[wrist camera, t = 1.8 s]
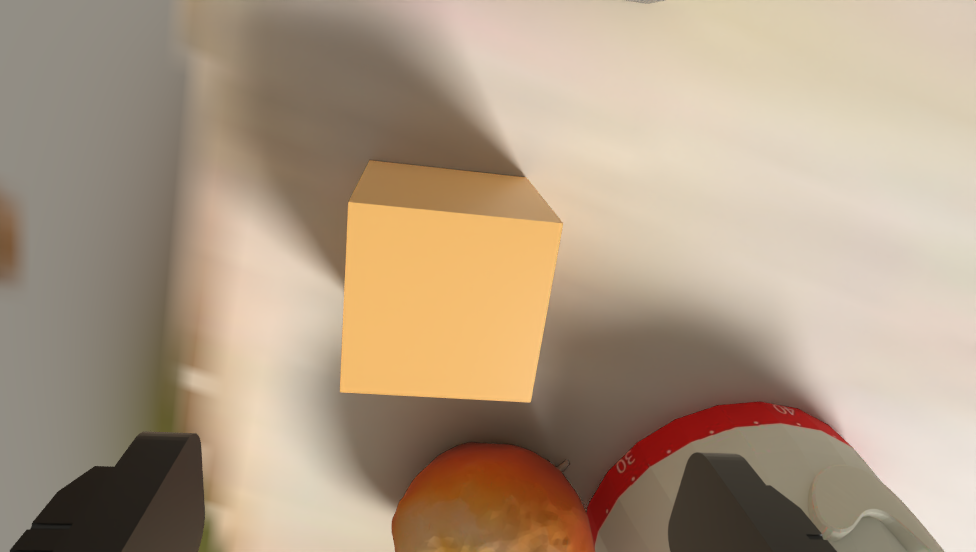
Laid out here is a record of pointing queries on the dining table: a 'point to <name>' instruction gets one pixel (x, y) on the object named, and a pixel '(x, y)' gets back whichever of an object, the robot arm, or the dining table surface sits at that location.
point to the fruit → (491, 504)
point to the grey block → (646, 1)
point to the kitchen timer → (776, 459)
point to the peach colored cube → (445, 283)
